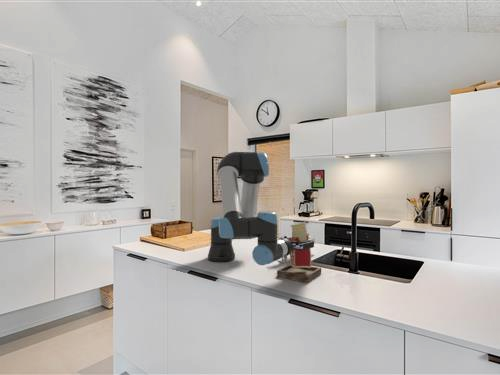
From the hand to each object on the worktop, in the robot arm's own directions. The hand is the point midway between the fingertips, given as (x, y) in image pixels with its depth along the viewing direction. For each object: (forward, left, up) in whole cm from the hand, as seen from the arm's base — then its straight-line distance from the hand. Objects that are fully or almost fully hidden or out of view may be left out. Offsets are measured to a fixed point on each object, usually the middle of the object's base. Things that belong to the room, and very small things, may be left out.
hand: (303, 239), depth 138 cm
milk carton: (0, -5, -11) cm, 12 cm away
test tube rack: (-14, +21, -16) cm, 30 cm away
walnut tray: (0, -4, -16) cm, 16 cm away
